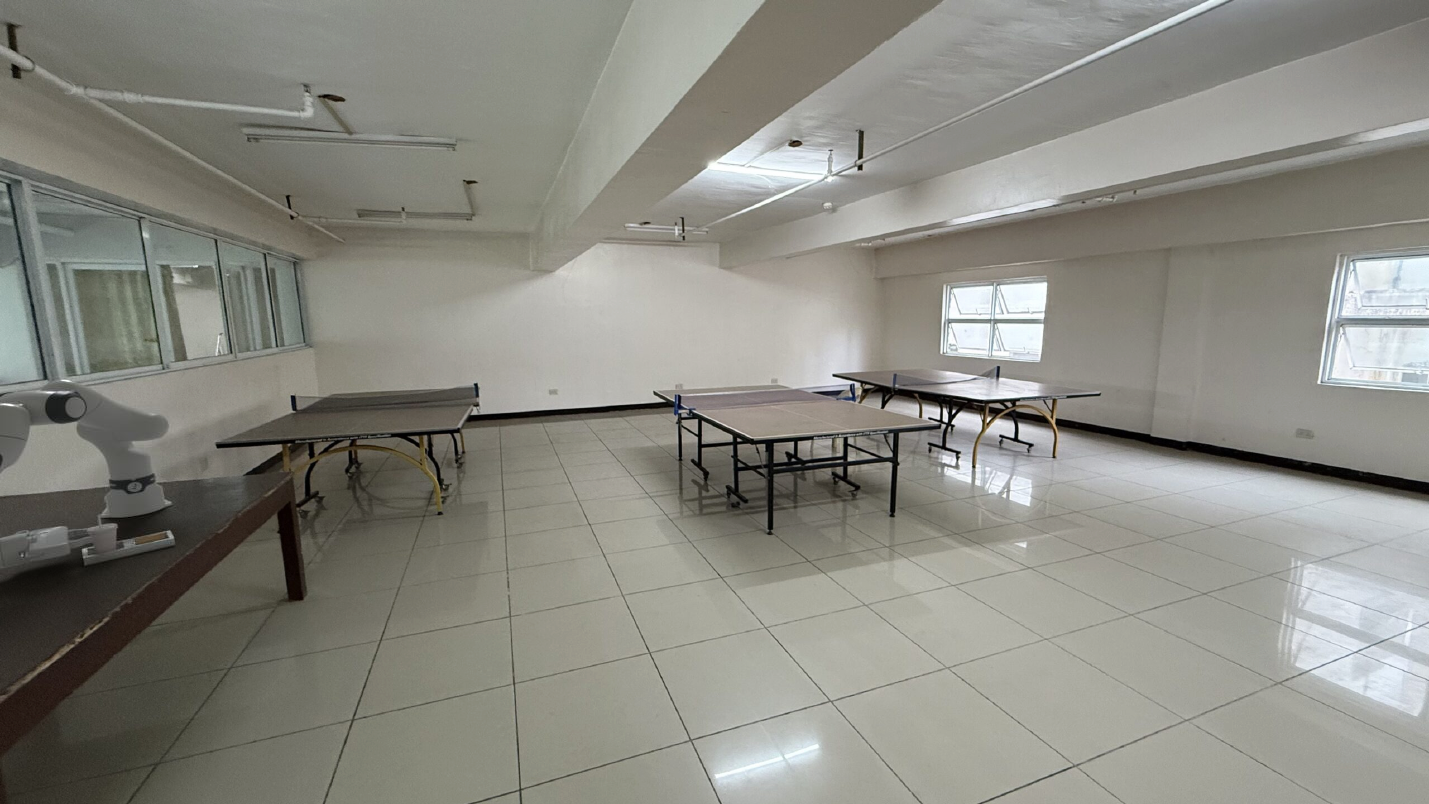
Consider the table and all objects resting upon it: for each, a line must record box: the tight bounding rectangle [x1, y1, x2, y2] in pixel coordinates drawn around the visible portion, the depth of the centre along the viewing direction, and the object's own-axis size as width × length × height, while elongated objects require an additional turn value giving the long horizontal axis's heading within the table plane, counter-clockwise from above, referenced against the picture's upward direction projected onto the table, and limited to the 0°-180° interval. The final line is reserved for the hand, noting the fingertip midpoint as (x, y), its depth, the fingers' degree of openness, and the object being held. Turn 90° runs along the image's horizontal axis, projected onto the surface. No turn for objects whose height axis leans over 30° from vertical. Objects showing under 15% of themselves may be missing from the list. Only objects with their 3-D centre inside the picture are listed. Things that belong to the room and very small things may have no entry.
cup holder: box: [81, 530, 176, 566], centre depth 171 cm, size 10×20×2 cm, turn 142°
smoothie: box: [87, 513, 119, 554], centre depth 166 cm, size 6×6×14 cm
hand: (92, 534), depth 164 cm, fingers open, 8 cm apart
